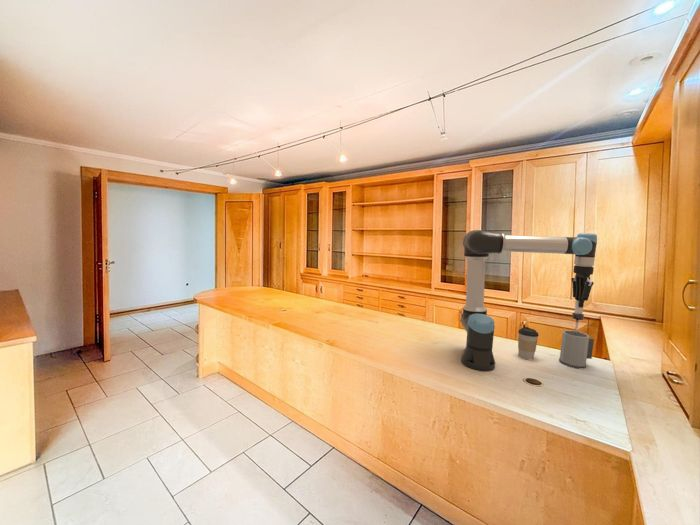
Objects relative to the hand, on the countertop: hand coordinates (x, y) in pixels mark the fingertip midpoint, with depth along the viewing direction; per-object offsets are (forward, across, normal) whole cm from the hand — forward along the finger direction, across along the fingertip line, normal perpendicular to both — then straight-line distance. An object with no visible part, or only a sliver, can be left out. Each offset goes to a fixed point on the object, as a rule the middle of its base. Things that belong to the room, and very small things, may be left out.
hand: (578, 313), depth 145 cm
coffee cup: (+26, +4, +20) cm, 33 cm away
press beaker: (+26, 0, -1) cm, 26 cm away
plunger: (+16, 0, 0) cm, 16 cm away
